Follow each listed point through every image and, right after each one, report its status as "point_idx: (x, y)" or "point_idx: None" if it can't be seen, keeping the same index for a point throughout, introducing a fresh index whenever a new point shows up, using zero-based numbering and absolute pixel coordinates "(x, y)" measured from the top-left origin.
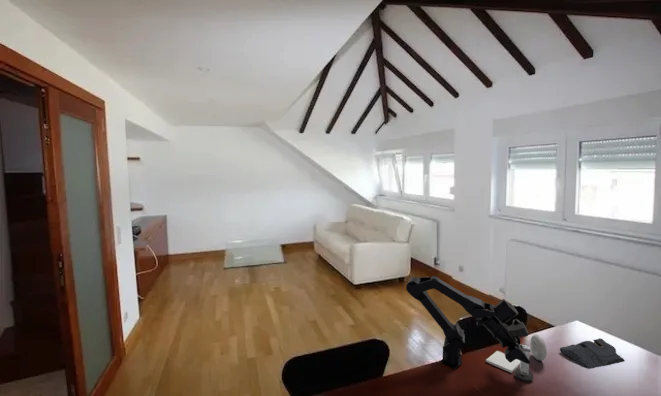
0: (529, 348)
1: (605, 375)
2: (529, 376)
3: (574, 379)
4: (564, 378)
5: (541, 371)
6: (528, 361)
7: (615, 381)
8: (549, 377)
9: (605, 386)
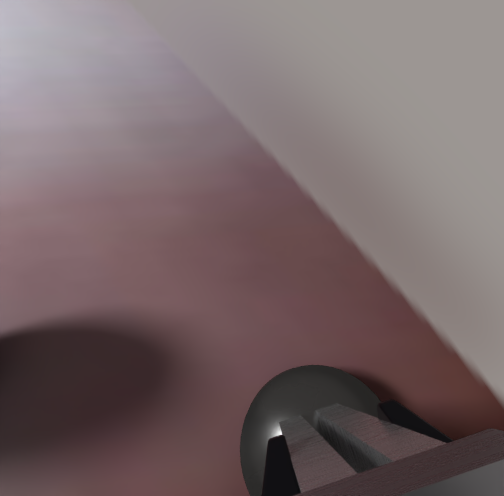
0: (492, 486)
1: (12, 44)
2: (340, 394)
3: (134, 149)
4: (154, 193)
5: (140, 327)
6: (418, 427)
7: (53, 15)
8: (195, 269)
9: (125, 42)
